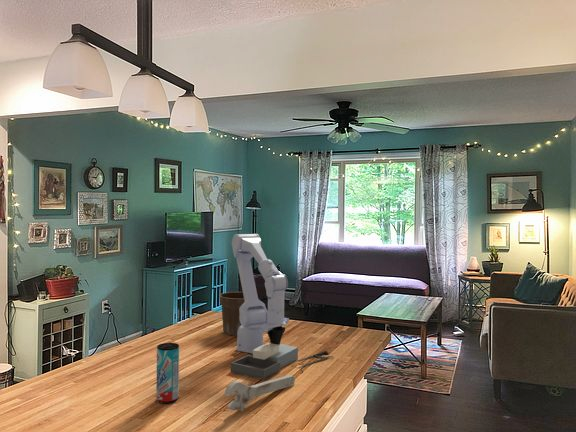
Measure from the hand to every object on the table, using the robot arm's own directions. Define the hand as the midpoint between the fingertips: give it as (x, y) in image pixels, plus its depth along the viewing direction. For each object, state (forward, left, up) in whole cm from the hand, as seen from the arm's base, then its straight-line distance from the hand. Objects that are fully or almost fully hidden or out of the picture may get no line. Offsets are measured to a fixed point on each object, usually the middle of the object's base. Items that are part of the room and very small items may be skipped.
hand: (275, 348), depth 163 cm
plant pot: (-34, +23, -5) cm, 41 cm away
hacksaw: (+11, +6, -5) cm, 14 cm away
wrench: (+14, -29, -5) cm, 32 cm away
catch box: (0, -12, -5) cm, 13 cm away
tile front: (0, -8, -1) cm, 8 cm away
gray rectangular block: (0, 0, -5) cm, 5 cm away
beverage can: (-8, -44, -5) cm, 45 cm away
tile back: (0, -3, -1) cm, 3 cm away
